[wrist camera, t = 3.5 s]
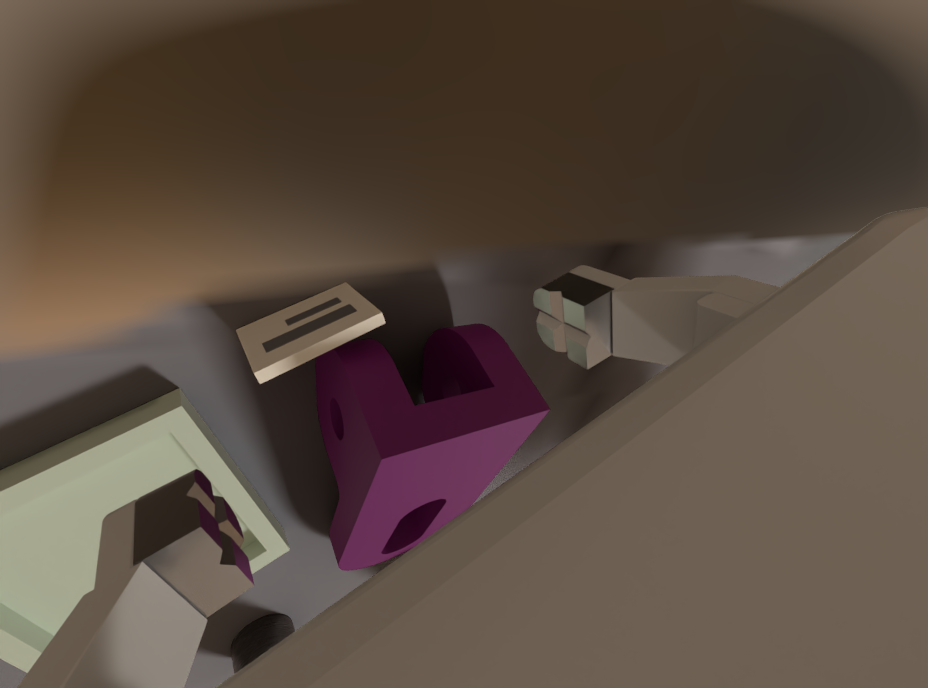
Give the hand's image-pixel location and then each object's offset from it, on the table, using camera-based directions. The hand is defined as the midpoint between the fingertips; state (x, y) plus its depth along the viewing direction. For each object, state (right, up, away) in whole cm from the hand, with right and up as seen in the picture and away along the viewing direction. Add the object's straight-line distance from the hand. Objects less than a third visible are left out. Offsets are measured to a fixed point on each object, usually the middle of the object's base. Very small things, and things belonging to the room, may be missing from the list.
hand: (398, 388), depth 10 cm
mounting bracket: (-4, -6, +21) cm, 22 cm away
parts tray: (-16, -9, +13) cm, 22 cm away
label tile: (-7, +3, +13) cm, 16 cm away
